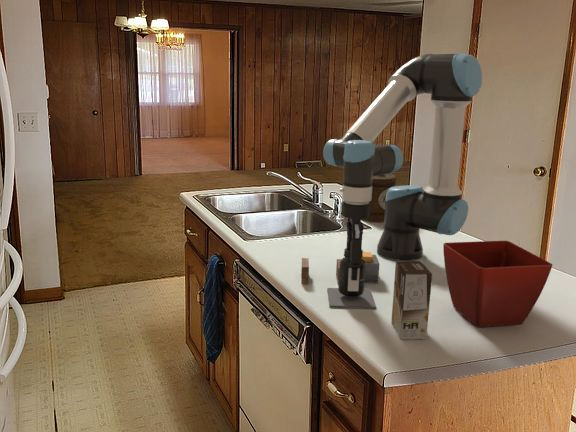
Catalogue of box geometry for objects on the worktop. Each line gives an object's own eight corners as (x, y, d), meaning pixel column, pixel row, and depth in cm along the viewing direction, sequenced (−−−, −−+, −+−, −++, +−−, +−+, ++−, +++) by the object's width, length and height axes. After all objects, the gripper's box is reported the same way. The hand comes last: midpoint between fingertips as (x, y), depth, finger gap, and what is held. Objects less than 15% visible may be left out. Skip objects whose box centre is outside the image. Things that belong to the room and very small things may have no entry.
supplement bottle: (362, 298, 145) (365, 254, 142) (336, 295, 147) (338, 252, 144) (364, 288, 152) (367, 246, 149) (339, 286, 153) (341, 244, 150)
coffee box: (427, 339, 128) (433, 274, 124) (400, 340, 127) (405, 274, 123) (415, 322, 137) (420, 260, 133) (389, 322, 136) (394, 260, 132)
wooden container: (387, 224, 224) (391, 170, 219) (352, 219, 230) (355, 166, 225) (397, 216, 237) (401, 165, 232) (363, 211, 243) (366, 161, 238)
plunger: (369, 271, 167) (370, 252, 165) (371, 276, 163) (372, 256, 161) (354, 270, 167) (356, 251, 165) (356, 276, 163) (357, 256, 161)
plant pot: (544, 330, 135) (555, 264, 130) (472, 335, 131) (481, 268, 126) (499, 298, 153) (507, 239, 148) (435, 303, 149) (441, 242, 144)
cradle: (342, 275, 167) (343, 259, 166) (344, 284, 159) (345, 268, 158) (301, 273, 167) (301, 257, 166) (301, 283, 160) (301, 267, 158)
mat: (370, 291, 155) (370, 289, 155) (376, 308, 144) (376, 306, 144) (327, 289, 156) (327, 287, 155) (329, 307, 144) (329, 305, 144)
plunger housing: (374, 273, 169) (375, 254, 167) (378, 283, 161) (379, 263, 160) (348, 272, 169) (349, 254, 168) (350, 282, 161) (351, 263, 160)
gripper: (339, 192, 152) (335, 271, 158) (344, 210, 133) (340, 299, 139) (366, 193, 152) (361, 272, 158) (376, 211, 133) (370, 300, 139)
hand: (351, 285), depth 149 cm, fingers closed on supplement bottle, 7 cm apart
